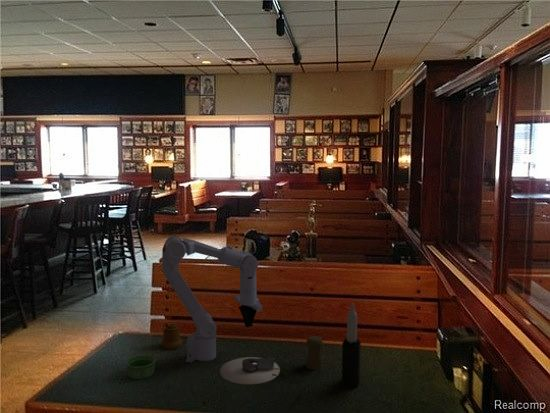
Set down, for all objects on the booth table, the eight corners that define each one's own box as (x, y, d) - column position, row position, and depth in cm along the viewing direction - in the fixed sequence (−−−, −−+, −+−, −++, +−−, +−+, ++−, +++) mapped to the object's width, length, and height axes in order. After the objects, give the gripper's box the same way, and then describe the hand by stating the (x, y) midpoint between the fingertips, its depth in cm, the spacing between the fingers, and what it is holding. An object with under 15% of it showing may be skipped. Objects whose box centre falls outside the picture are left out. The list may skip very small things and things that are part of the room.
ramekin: (161, 373, 147) (161, 360, 146) (135, 383, 140) (135, 369, 140) (146, 365, 153) (145, 352, 152) (121, 374, 146) (120, 360, 146)
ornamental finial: (174, 340, 173) (186, 346, 168) (157, 346, 168) (168, 352, 163) (174, 320, 173) (186, 325, 168) (156, 325, 167) (168, 330, 162)
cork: (322, 375, 146) (323, 341, 145) (303, 373, 147) (304, 340, 146) (324, 367, 151) (325, 334, 150) (306, 365, 153) (306, 333, 152)
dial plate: (208, 380, 142) (208, 375, 141) (238, 357, 159) (238, 352, 159) (263, 394, 134) (263, 388, 133) (289, 368, 151) (289, 363, 151)
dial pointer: (242, 372, 143) (242, 363, 143) (241, 365, 148) (241, 356, 148) (274, 371, 144) (274, 362, 144) (272, 364, 149) (272, 355, 149)
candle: (360, 380, 143) (362, 301, 140) (357, 387, 138) (359, 306, 135) (344, 377, 144) (345, 299, 142) (341, 384, 139) (342, 304, 137)
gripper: (269, 290, 155) (269, 330, 156) (247, 281, 167) (247, 318, 168) (251, 294, 151) (252, 334, 152) (230, 284, 162) (230, 322, 164)
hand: (248, 326), depth 160 cm, fingers closed
